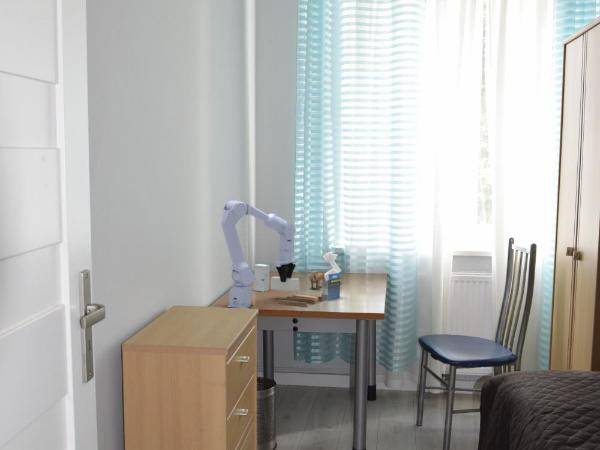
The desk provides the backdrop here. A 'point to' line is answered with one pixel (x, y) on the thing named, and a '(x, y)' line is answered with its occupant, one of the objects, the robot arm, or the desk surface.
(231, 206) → the robot arm
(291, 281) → the strip
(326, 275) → the voxel character
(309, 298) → the terracotta strip
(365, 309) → the desk surface
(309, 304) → the walnut drying rack
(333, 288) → the label tape box
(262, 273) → the skincare box
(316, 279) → the lion figurine
